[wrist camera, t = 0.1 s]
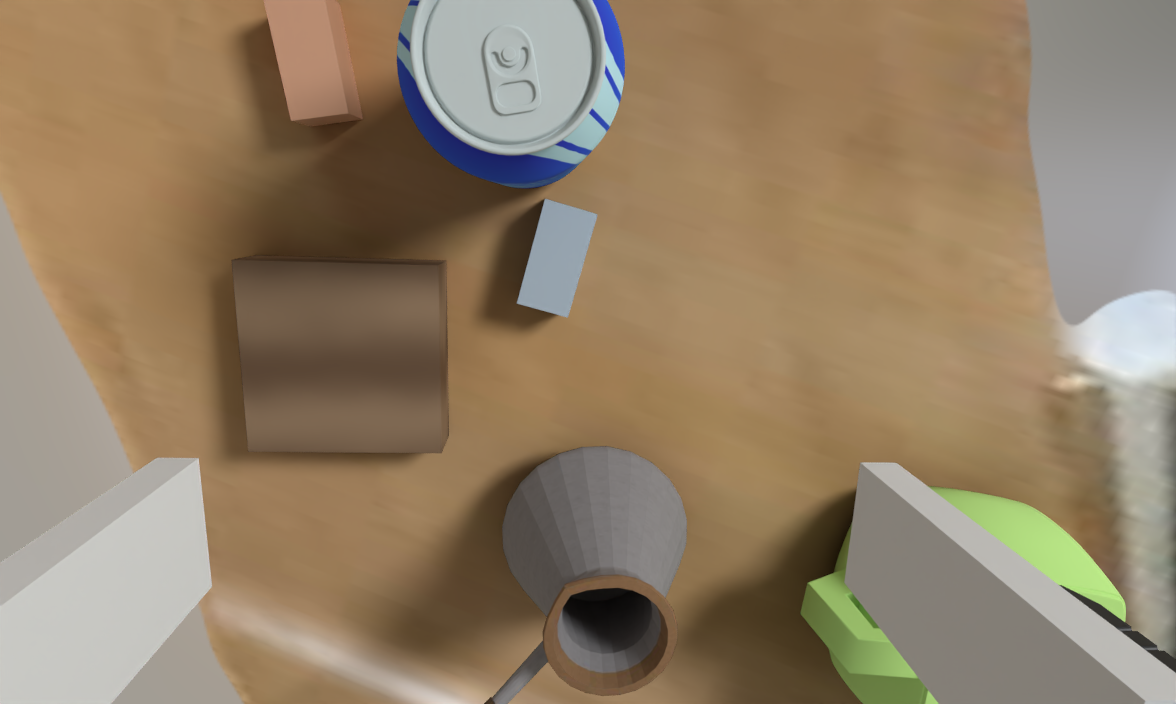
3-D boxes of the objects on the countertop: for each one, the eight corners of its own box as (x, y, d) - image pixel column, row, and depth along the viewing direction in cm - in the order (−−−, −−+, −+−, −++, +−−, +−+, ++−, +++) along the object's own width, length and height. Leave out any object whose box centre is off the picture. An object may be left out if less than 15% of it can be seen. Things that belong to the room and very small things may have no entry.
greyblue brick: (544, 198, 39) (545, 198, 36) (593, 213, 39) (597, 214, 36) (518, 295, 40) (516, 303, 37) (566, 308, 41) (567, 317, 38)
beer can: (423, 140, 38) (337, 99, 22) (494, 2, 36) (455, -145, 21) (551, 215, 39) (555, 227, 24) (624, 85, 38) (679, 6, 22)
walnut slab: (255, 255, 39) (231, 259, 36) (446, 260, 39) (438, 265, 36) (269, 433, 41) (248, 451, 38) (448, 435, 42) (441, 453, 39)
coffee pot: (608, 395, 42) (641, 500, 27) (711, 522, 44) (793, 681, 30) (354, 590, 44) (258, 785, 29) (467, 701, 46) (431, 933, 32)
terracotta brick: (285, 11, 36) (262, -5, 33) (340, 4, 36) (322, -13, 33) (311, 126, 37) (291, 120, 34) (364, 119, 37) (348, 113, 35)
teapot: (995, 716, 50) (1150, 895, 37) (738, 690, 48) (808, 869, 35) (1074, 491, 46) (1278, 604, 33) (798, 453, 44) (901, 557, 31)
